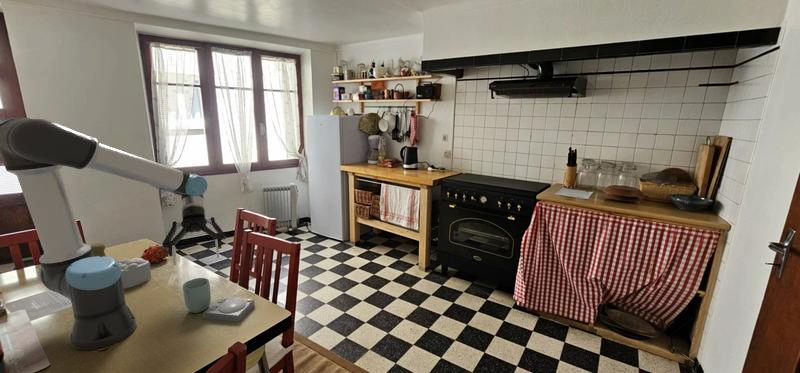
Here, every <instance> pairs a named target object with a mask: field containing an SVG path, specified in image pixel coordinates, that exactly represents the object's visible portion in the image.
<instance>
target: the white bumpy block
mask: <svg viewBox="0 0 800 373" xmlns="http://www.w3.org/2000/svg"><path fill="white" fill-rule="evenodd" d="M117 262H118V263H119V267H120V269H121V277H122V283H123V290H124V289H129V288H132V287H135V286H138V285H140V284H143V283H146V282H148V281H150V280H151V279H152V272H151V263H149V261H147V260H144V259H142V258H141V257H132V258H131V259H126V258H124V259H120V260H118V261H117Z"/></svg>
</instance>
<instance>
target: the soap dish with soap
mask: <svg viewBox="0 0 800 373" xmlns="http://www.w3.org/2000/svg"><path fill="white" fill-rule="evenodd" d="M254 307H255V299H254V298H245V297H244V298H243V297H233V296H221V297H220V298H219V299H218V300H216V301H215V302H214V303H213V304H211V305H210V306H209V307H208V308H207V309H206V310H204V311H203V319H204V320H210V321H220V322H221V321H222V322H231V323H234V322H235V323H239V322H240V321H241V320H243V319H244V317H245V316H247V314H248V313H249V312H250V311H251V310H252V309H253V308H254Z"/></svg>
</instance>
